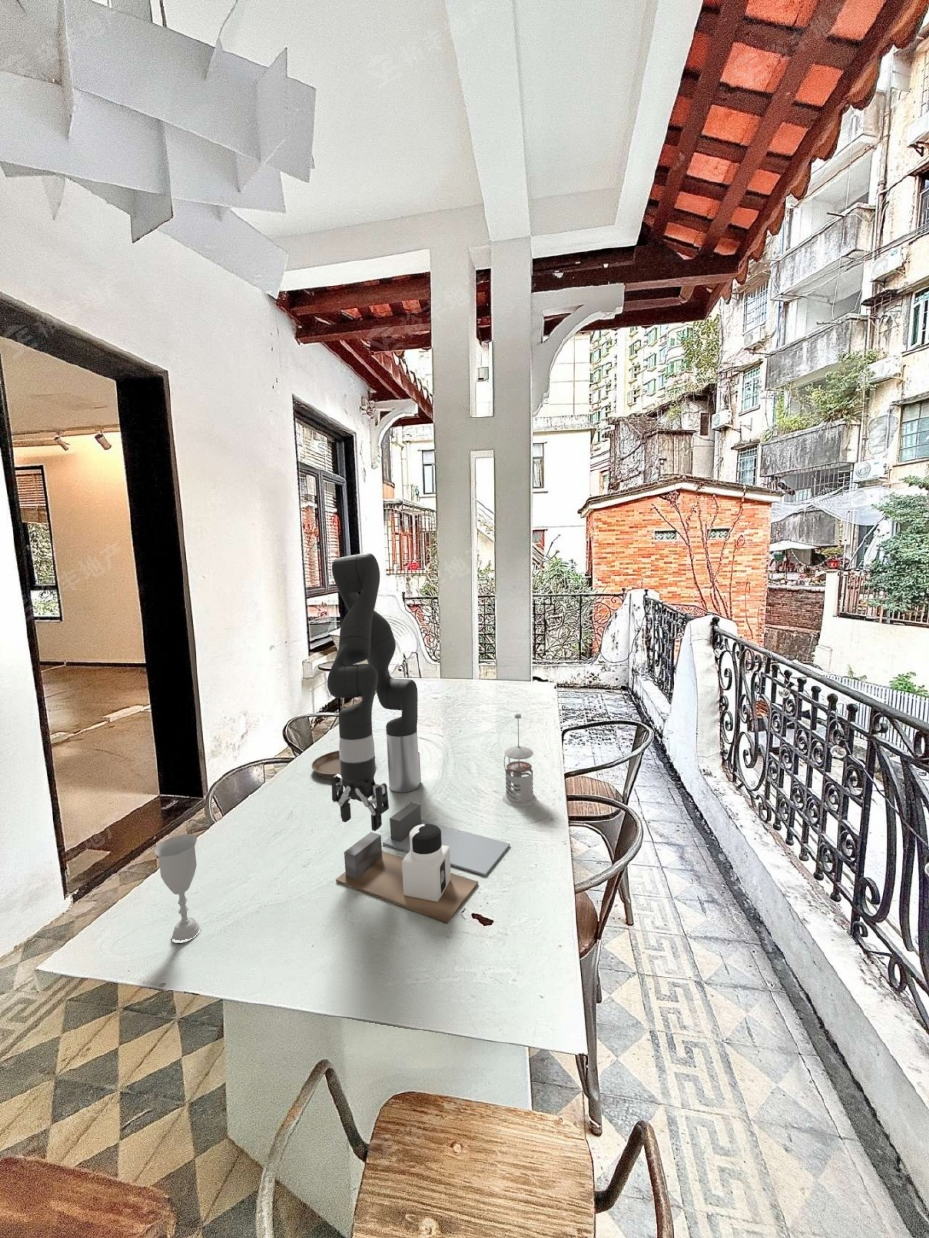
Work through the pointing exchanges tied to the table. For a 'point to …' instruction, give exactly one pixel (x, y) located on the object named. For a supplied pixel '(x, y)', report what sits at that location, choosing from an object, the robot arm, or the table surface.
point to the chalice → (179, 877)
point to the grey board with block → (448, 841)
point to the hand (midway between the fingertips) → (361, 824)
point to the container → (426, 864)
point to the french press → (519, 776)
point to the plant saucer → (327, 765)
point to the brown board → (397, 880)
